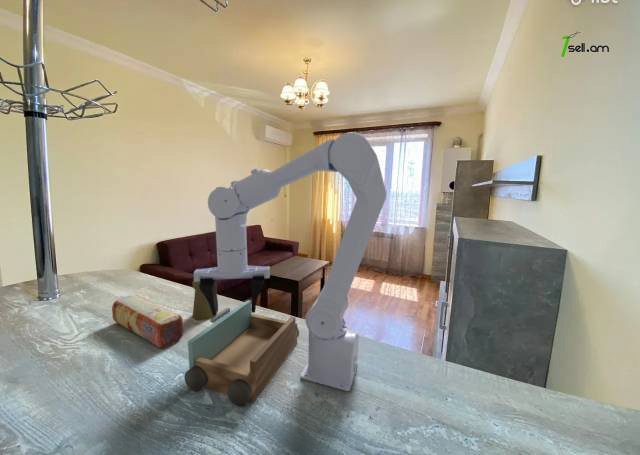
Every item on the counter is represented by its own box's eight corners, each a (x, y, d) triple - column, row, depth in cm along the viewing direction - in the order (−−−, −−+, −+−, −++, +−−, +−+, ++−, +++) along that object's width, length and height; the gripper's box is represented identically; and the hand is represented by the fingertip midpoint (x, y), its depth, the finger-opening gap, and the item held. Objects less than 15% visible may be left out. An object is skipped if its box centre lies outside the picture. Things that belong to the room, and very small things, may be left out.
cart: (299, 340, 62) (299, 312, 60) (248, 409, 43) (247, 370, 41) (251, 329, 66) (250, 303, 65) (185, 388, 47) (182, 352, 46)
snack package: (187, 338, 62) (185, 311, 61) (158, 353, 56) (155, 323, 55) (140, 314, 73) (138, 290, 72) (111, 324, 67) (108, 299, 66)
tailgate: (251, 324, 64) (251, 297, 63) (194, 373, 47) (192, 337, 46) (245, 322, 65) (244, 296, 63) (186, 370, 48) (183, 335, 47)
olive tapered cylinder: (207, 321, 69) (205, 281, 67) (187, 318, 70) (185, 279, 68) (220, 311, 75) (219, 273, 73) (201, 308, 76) (199, 271, 74)
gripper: (269, 242, 58) (270, 301, 60) (199, 244, 56) (202, 305, 58) (268, 250, 51) (269, 316, 53) (188, 253, 49) (193, 321, 51)
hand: (234, 311), depth 55 cm, fingers open, 7 cm apart
